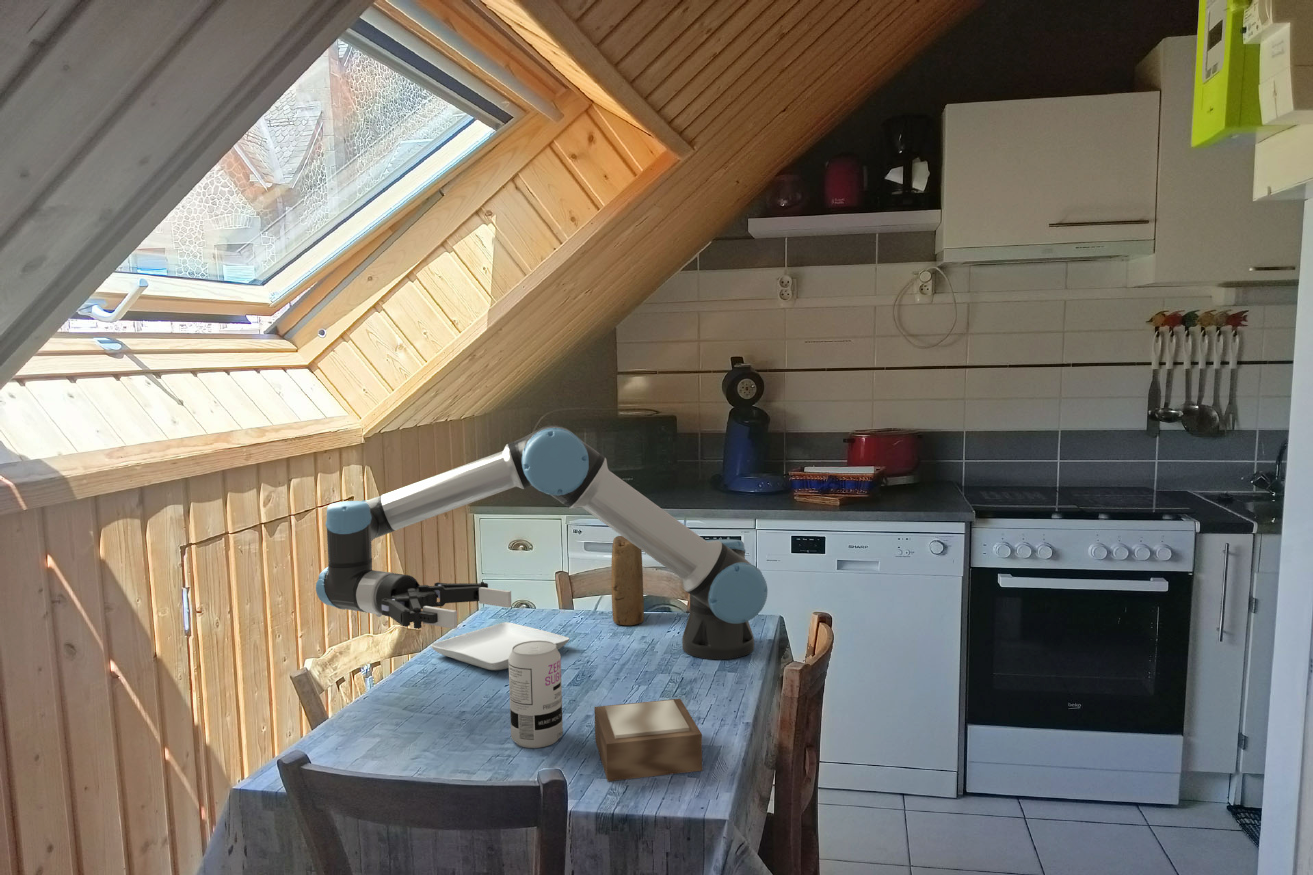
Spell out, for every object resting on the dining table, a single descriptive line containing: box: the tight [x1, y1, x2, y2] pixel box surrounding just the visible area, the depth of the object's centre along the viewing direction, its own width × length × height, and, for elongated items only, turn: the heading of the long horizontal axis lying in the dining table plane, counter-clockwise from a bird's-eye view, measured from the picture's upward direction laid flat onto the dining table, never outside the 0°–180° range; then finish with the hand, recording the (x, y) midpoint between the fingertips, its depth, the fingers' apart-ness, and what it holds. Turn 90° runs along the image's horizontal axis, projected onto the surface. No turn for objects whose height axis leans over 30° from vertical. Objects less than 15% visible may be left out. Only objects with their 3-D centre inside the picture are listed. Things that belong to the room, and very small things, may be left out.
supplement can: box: [508, 640, 564, 749], centre depth 136 cm, size 8×8×15 cm
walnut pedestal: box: [593, 698, 703, 782], centre depth 130 cm, size 14×14×6 cm
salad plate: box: [430, 621, 570, 671], centre depth 179 cm, size 21×21×3 cm
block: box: [610, 535, 645, 626], centre depth 200 cm, size 11×8×20 cm
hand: (484, 609), depth 140 cm, fingers open, 13 cm apart
